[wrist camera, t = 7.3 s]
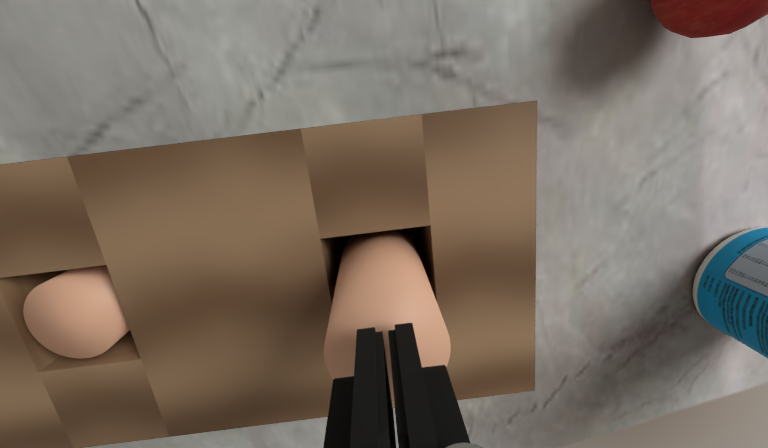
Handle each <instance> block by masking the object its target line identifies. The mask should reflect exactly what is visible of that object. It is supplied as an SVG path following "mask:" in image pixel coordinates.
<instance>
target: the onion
mask: <svg viewBox="0 0 768 448" xmlns="http://www.w3.org/2000/svg"><path fill="white" fill-rule="evenodd" d="M649 1H650V4H651V7H652V10H653V13H654V16H655V17H656V18H657V19H658V20H659V21H660V23H661V24H662V25H663V26H664V27H665V28H666V29H668V30H670V31H672V32H674V33H677V34H680V35H683V36H686V37H689V38H699V37H710V36H717V35H724V34H730V33H732V32H735V31H737V30H739V29H742V28H744V27H746V26H748V25H750V24H751V23H753V22H755V21H757V20H758V19H760V18H762V17H764V16H765V15H767V14H768V0H649Z"/></svg>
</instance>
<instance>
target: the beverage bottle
mask: <svg viewBox="0 0 768 448" xmlns="http://www.w3.org/2000/svg"><path fill="white" fill-rule="evenodd" d="M693 300H694V304H695V306H696V309H697V311H698V312H699V314H700V315H701V317H702V318H703V319H704V320H705V321H706V322H708V323H709V324H710V325H712V326H713V327H715V328H717V329H718V330H720V331H722V332H724V333H725V334H727V335H730V336H732V337H734V338H735V339H737V340H738V341H740V342H742V343H743V344H745V345H747V346H748V347H750V348H752V349H753V350H755V351H757V352H758V353H760V354H762V355H763V356H765V357H767V358H768V226H767V227H756V228H751V229H747V230H744V231H741V232H739V233H736V234H734V235H732V236H730V237H729V238H727V239H725V240H724V241H723V242H721V243H720V244H719V245H717V246H716V247H715V248H714V249H713V250H712V251H711V252H710V253H709V254H708V255H707V257H706V258H705V259H704V261H703V262H702V264H701V265H700V267H699V269H698V271H697V274H696V276H695V280H694V284H693Z"/></svg>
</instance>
